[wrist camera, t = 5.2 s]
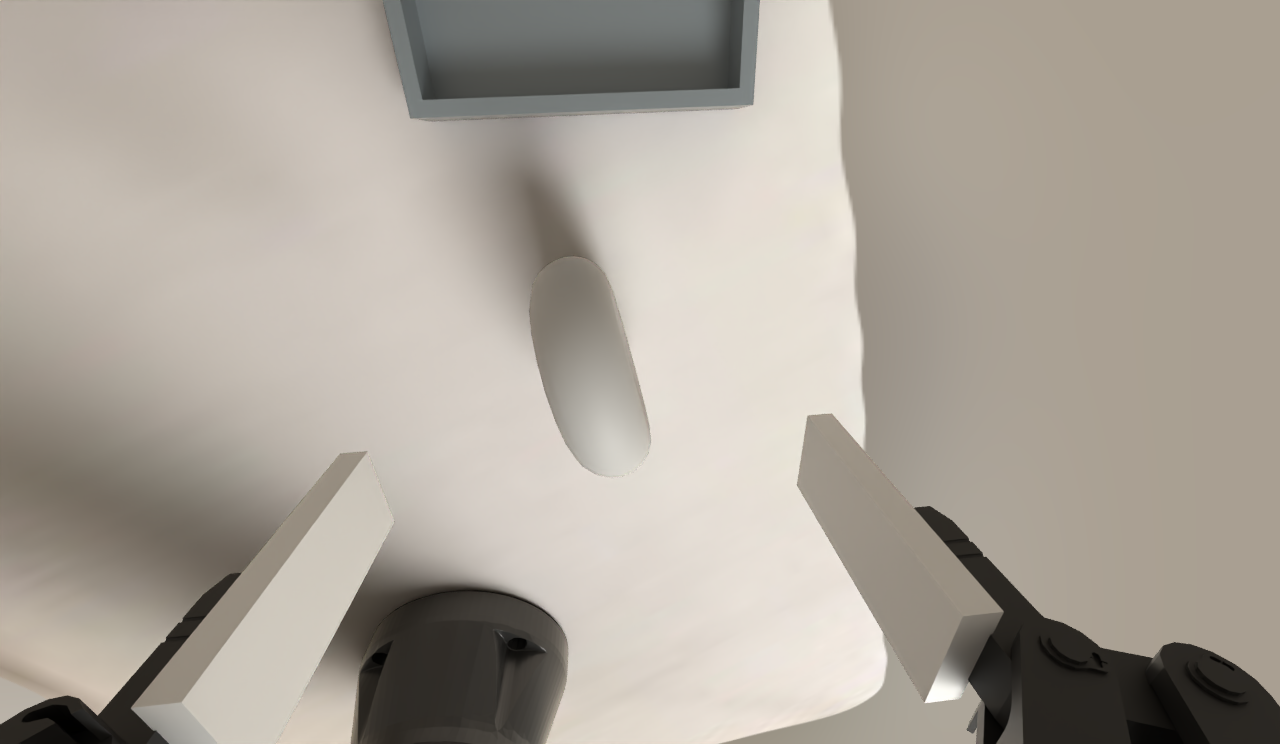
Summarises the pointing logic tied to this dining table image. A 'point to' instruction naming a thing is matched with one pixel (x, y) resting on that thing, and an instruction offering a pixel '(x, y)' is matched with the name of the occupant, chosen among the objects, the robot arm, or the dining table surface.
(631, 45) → the tray
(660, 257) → the dining table surface
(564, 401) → the donut
